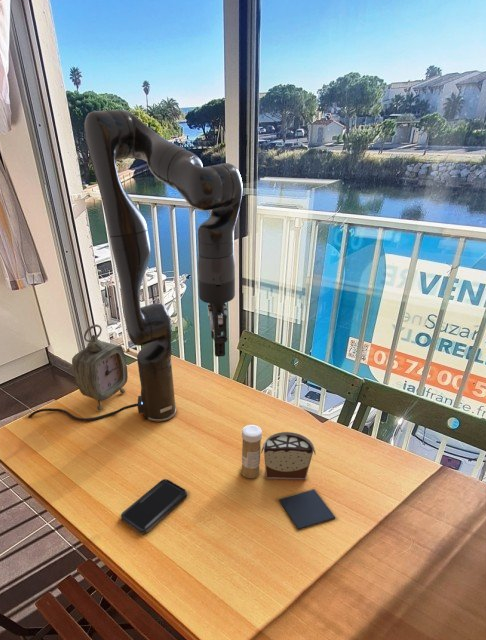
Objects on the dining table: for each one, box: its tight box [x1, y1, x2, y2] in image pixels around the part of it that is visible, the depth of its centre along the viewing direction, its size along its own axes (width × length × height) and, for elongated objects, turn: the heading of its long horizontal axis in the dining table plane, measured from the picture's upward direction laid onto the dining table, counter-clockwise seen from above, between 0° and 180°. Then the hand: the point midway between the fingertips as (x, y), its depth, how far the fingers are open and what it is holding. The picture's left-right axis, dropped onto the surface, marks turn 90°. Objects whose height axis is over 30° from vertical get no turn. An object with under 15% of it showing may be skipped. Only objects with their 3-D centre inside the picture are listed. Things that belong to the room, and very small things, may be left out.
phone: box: [120, 478, 188, 535], centre depth 103 cm, size 8×1×15 cm
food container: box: [260, 431, 316, 480], centre depth 108 cm, size 12×6×10 cm, turn 84°
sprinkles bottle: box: [240, 424, 263, 479], centre depth 107 cm, size 5×5×14 cm
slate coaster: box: [278, 488, 336, 530], centre depth 101 cm, size 9×9×1 cm
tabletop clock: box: [71, 324, 128, 412], centre depth 134 cm, size 14×9×25 cm, turn 147°
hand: (218, 346), depth 102 cm, fingers open, 8 cm apart
